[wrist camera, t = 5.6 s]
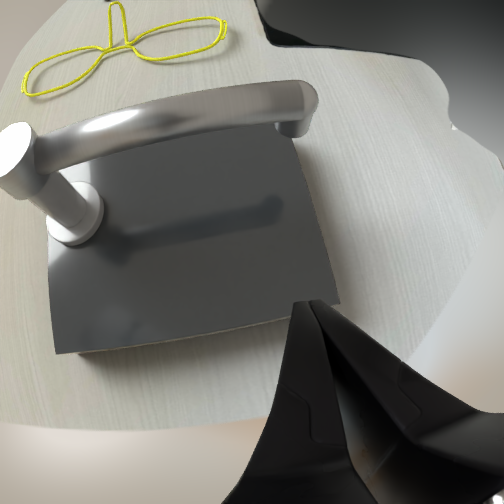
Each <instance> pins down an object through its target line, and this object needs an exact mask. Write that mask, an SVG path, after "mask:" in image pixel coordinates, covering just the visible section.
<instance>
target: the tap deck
mask: <svg viewBox="0 0 504 504" xmlns="http://www.w3.org/2000/svg"><path fill="white" fill-rule="evenodd" d="M28 200H29V201H30V202H31V203H33V204H34V205H35V206H37V207H38V208H39V209H40V210H42V211H43V212H44V213H45V214H46V226H47V229H48V282H49V299H50V311H51V321H52V330H53V338H54V346H55V352H56V354H83V353H92V352H101V351H109V350H117V349H124V348H131V347H138V346H145V345H152V344H158V343H165V342H171V341H177V340H183V339H189V338H195V337H200V336H206V335H211V334H216V333H222V332H227V331H232V330H237V329H242V328H247V327H251V326H256V325H261V324H266V323H270V322H275V321H279V320H284V319H288V318H291V314H292V308H293V303H294V302H299V301H307V302H308V301H310V300H318V299H321V300H323V301H325V302H326V303H327V304H329V305H330V306H331V307H333V306H336V305H338V304H340V300H339V296H338V292H337V288H336V284H335V280H334V277H333V273H332V269H331V265H330V262H329V258H328V254H327V251H326V247H325V244H324V240H323V237H322V233H321V230H320V226H319V223H318V219H317V216H316V213H315V209H314V206H313V203H312V200H311V196H310V193H309V190H308V187H307V184H306V180H305V177H304V174H303V171H302V168H301V165H300V162H299V159H298V156H297V153H296V150H295V147H294V144H293V141H292V138H289V137H286V136H283V135H282V134H280V133H279V132H278V131H277V129H276V128H275V125H274V123H269V124H261V125H253V126H246V127H239V128H233V129H226V130H220V131H214V132H209V133H203V134H198V135H192V136H187V137H182V138H178V139H173V140H168V141H164V142H159V143H155V144H150V145H146V146H142V147H138V148H134V149H130V150H126V151H122V152H118V153H115V154H111V155H107V156H104V157H100V158H97V159H94V160H90V161H87V162H84V163H80V164H77V165H74V166H71V167H68V168H65V169H62V170H59V171H56V172H53V173H51V176H50V178H49V179H48V181H47V183H46V184H45V186H44V187H43V188H42V189H41V190H40V191H39V192H38V193H37V194H35V195H34V196H33V197H31V198H29V199H28Z"/></svg>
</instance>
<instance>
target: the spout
mask: <svg viewBox="0 0 504 504" xmlns="http://www.w3.org/2000/svg"><path fill="white" fill-rule="evenodd" d="M318 103H319V99H318V94H317V92H316V90H315V89H314V88H313V86H312V85H310V84H309V83H307V82H305V81H302V80H285V81H272V82H261V83H252V84H243V85H235V86H228V87H221V88H215V89H208V90H202V91H197V92H191V93H186V94H181V95H176V96H171V97H166V98H162V99H157V100H153V101H149V102H145V103H140V104H137V105H133V106H129V107H125V108H121V109H118V110H114V111H111V112H107V113H104V114H101V115H98V116H94V117H91V118H88V119H85V120H82V121H79V122H76V123H73V124H70V125H67V126H65V127H62V128H59V129H57V130H54V131H51V132H49V133H46V134H44V135H41V136H38V135H37V133H36V132H35V131H34V130H33V129H32V127H31V126H30V125H29V124H28V123H25V122H18V123H15V124H12V125H11V126H9V127H7V128H6V129H5V130H4V131H2V132H1V133H0V187H1V188H2V189H3V190H4V191H6V192H7V193H8V194H9V195H11V196H12V197H13V198H15V199H17V200H26V199H29V198H31V197H33V196H34V195H35V194H37V193H38V192H39V191H40V190H41V189H42V188H43V187H44V186H45V184H46V183H47V181H48V179H49V178H50V176H51V173H53V172H56V171H59V170H62V169H65V168H68V167H71V166H74V165H77V164H80V163H84V162H87V161H90V160H94V159H97V158H100V157H104V156H107V155H111V154H115V153H118V152H122V151H126V150H130V149H134V148H138V147H142V146H146V145H150V144H155V143H159V142H164V141H168V140H173V139H178V138H182V137H187V136H192V135H198V134H203V133H209V132H214V131H220V130H226V129H233V128H239V127H246V126H253V125H261V124H269V123H274V125H275V128H276V129H277V131H278V132H279V133H280V134H282V135H283V136H286V137H289V138H299V137H302V136H303V135H305V134H306V133H307V131H308V129H309V126H310V123H311V119H312V116H313V114H314V112H315V111H316V109H317V107H318Z"/></svg>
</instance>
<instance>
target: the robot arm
mask: <svg viewBox="0 0 504 504" xmlns="http://www.w3.org/2000/svg"><path fill="white" fill-rule="evenodd" d="M221 504H504V413H488V412H483V411H480V410H477V409H475V408H473V407H471V406H469V405H468V404H466V403H464V402H463V401H461V400H459V399H458V398H456V397H454V396H453V395H451V394H449V393H448V392H446V391H445V390H443V389H441V388H440V387H438V386H437V385H435V384H434V383H432V382H430V381H429V380H427V379H426V378H424V377H423V376H422V375H420V374H419V373H418V372H416V371H415V370H413V369H412V368H411V367H409V366H408V365H407V364H406V363H404V362H403V361H402V362H401V360H400V359H399V358H398V357H396V356H395V355H394V354H392V353H391V352H390V351H389V350H387V349H386V348H385V347H383V346H382V345H381V344H379V343H378V342H377V341H376V340H374V339H373V338H372V337H370V336H369V335H368V334H366V333H365V332H364V331H362V330H361V329H360V328H359V327H357V326H356V325H355V324H353V323H352V322H351V321H349V320H348V319H347V318H346V317H344V316H343V315H342V314H340V313H339V312H338V311H336V310H335V309H334V308H332V307H331V306H330V305H329V304H327V303H326V302H325V301H323V300H321V299H318V300H310V301H308V302H307V301H299V302H294V303H293V308H292V314H291V319H290V324H289V330H288V335H287V340H286V345H285V350H284V355H283V360H282V365H281V370H280V375H279V379H278V384H277V388H276V393H275V397H274V401H273V404H272V408H271V411H270V414H269V417H268V419H267V422H266V425H265V427H264V429H263V432H262V434H261V436H260V439H259V441H258V443H257V445H256V448H255V450H254V452H253V454H252V456H251V459H250V461H249V463H248V465H247V467H246V469H245V471H244V473H243V475H242V476H241V478H240V480H239V482H238V483H237V484H236V486H235V487H234V488H233V490H232V491H231V492H230V493H229V495H228V496H227V497H226V498H225V500H224V501H223V502H222V503H221Z"/></svg>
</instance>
